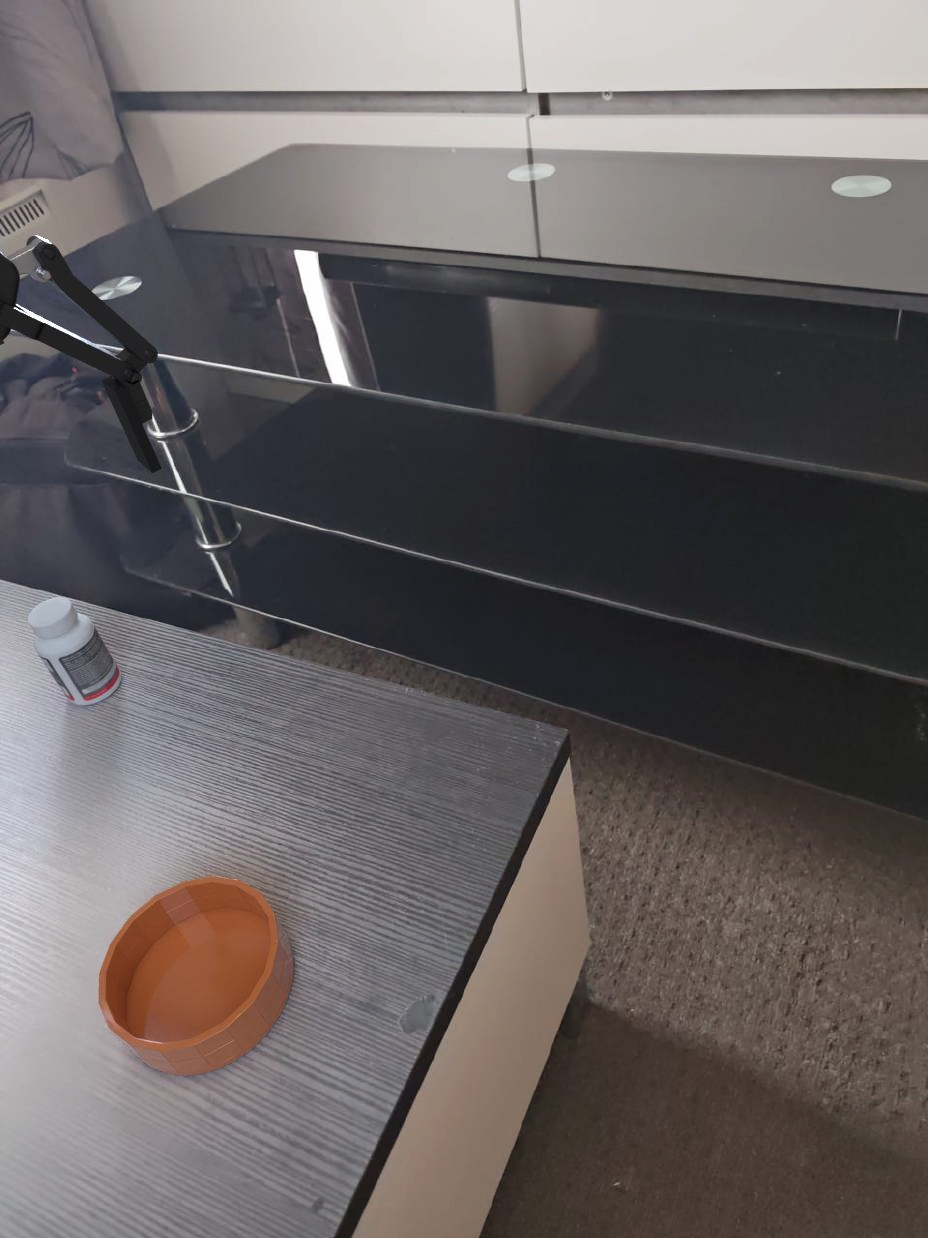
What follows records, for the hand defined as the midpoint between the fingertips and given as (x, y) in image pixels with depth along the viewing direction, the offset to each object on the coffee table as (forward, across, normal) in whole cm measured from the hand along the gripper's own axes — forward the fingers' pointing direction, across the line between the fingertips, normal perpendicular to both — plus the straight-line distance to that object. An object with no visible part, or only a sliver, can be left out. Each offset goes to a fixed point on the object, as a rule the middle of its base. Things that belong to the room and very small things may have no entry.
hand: (61, 508), depth 64 cm
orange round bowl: (+25, -9, -22) cm, 35 cm away
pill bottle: (+26, -4, +13) cm, 29 cm away
